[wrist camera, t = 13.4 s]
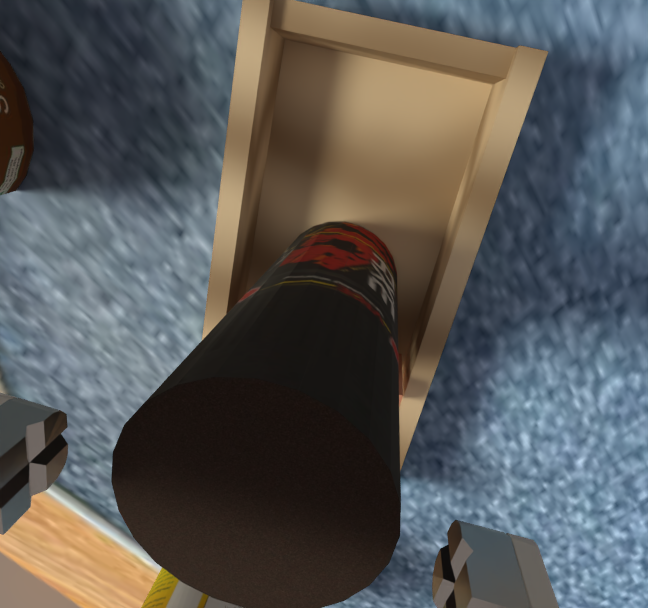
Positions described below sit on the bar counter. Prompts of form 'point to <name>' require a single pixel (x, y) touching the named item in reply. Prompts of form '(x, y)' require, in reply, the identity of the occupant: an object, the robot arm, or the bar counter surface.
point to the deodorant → (278, 435)
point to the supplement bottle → (179, 595)
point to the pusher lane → (367, 158)
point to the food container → (13, 129)
